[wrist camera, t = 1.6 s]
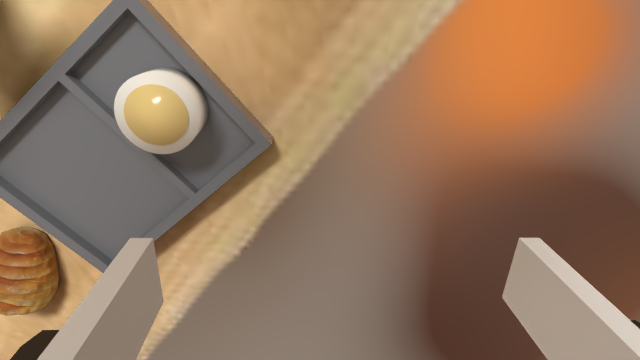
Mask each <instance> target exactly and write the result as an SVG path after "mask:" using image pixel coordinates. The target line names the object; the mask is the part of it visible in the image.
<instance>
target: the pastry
mask: <svg viewBox="0 0 640 360" xmlns="http://www.w3.org/2000/svg"><path fill="white" fill-rule="evenodd" d="M58 281H59V274H58V265H57V260H56V256H55V250H54V247H53V244H52V243H51V242H50V240H49V239H48V237H47V235H46V234H45V233H43V232H42V231H40V230H36V229H32V228H29V227H20V228H16V229H11V230H8V231H5V232H2V233H1V235H0V314H3V315H16V314H19V315H24V314H29V313H32V312H34V311H37V310H40V309H42V308H44V307H46V306H47V305H48V303H49V302H50V300H51V299H52V297H53V296H54V295H55V293H56V291H57V287H58Z"/></svg>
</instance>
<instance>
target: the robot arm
mask: <svg viewBox="0 0 640 360" xmlns="http://www.w3.org/2000/svg"><path fill="white" fill-rule="evenodd" d="M502 298H503V299H504V301H505V302H506V303H507V305H508V306H509V307H510V309H511V310H512V312H513V313H514V314H515V316H516V317H517V318H518V320H519V321H520V322H521V324H522V325H523V326H524V328H525V329H526V331H527V332H528V333H529V335H530V336H531V337H532V339H533V340H534V342H535V343H536V344H537V346H538V347H539V348H540V350H541V351H542V352H543V354H544V355H545V356H546V358H547V359H548V360H640V323H639V322H637V321H636V320H629V319H628V318H627V317H626V316H625V315H624V314H622V313H621V312H620V311H619V310H618V309H617V308H616V307H615V306H613V305H612V304H611V303H610V302H609V301H608V300H607V299H606V298H605V297H604V296H603V295H601V294H600V293H599V292H598V291H597V290H596V289H595V288H594V287H593V286H592V285H590V284H589V283H588V282H587V281H586V280H585V279H584V278H583V277H582V276H581V275H579V274H578V273H577V272H576V271H575V270H574V269H573V268H572V267H571V266H570V265H568V264H567V263H566V262H565V261H564V260H563V259H562V258H561V257H560V256H558V255H557V254H556V253H555V252H554V251H553V250H552V249H551V248H550V247H549V246H548V245H546V244H545V243H544V242H543V241H542V240H541V239H540V238H519V240H518V244H517V248H516V251H515V254H514V258H513V261H512V265H511V269H510V272H509V275H508V279H507V282H506V286H505V289H504V293H503V296H502ZM162 303H163V295H162V289H161V283H160V277H159V271H158V265H157V259H156V253H155V247H154V241H153V238H130V239H129V240H128V241H127V243H126V244H125V245H124V247H123V248H122V249H121V251H120V252H119V253H118V255H117V256H116V257H115V258H114V260H113V261H112V262H111V264H110V265H109V266H108V268H107V269H106V270H105V272H104V273H103V274H102V275H101V277H100V278H99V279H98V281H97V282H96V283H95V285H94V286H93V287H92V288H91V290H90V291H89V292H88V294H87V295H86V296H85V298H84V299H83V300H82V302H81V303H80V304H79V305H78V307H77V308H76V309H75V311H74V312H73V313H72V315H71V316H70V317H69V319H68V320H67V321H66V322H65V324H64V325H63V326H62V328H61V329H60V330H42V331H41V332H40V333H38V334H37V335H36V336H34V337H33V338H32V339H30V340H29V341H28V342H26V343H25V344H24V345H22V346H21V347H20V348H19V350H18V351H17V352H16V353H15V354H14V355H13V357H12V358H11V359H10V360H136V358H137V356H138V354H139V351H140V349H141V347H142V345H143V343H144V341H145V339H146V337H147V335H148V333H149V330H150V328H151V326H152V324H153V322H154V320H155V318H156V316H157V314H158V312H159V309H160V307H161V305H162Z"/></svg>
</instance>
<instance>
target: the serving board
mask: <svg viewBox="0 0 640 360" xmlns="http://www.w3.org/2000/svg"><path fill="white" fill-rule="evenodd" d="M272 140H273V136H272V135H271V134H270V133H269V132H268V131H267V130H266V129H265V128H264V127H263V126H262V124H261V123H260V122H259V121H258V120H257V119H256V118H255V117H254V116H253V115H252V114H251V112H250V111H249V110H248V109H247V108H246V107H245V106H244V105H243V104H242V103H241V102H240V100H239V99H238V98H237V97H236V96H235V95H234V94H233V93H232V92H231V91H230V90H229V88H228V87H227V86H226V85H225V84H224V83H223V82H222V81H221V80H220V79H219V78H218V76H217V75H216V74H215V73H214V72H213V71H212V70H211V69H210V68H209V67H208V66H207V64H206V63H205V62H204V61H203V60H202V59H201V58H200V57H199V56H198V55H197V54H196V53H195V51H194V50H193V49H192V48H191V47H190V46H189V45H188V44H187V43H186V42H185V41H184V39H183V38H182V37H181V36H180V35H179V34H178V33H177V32H176V31H175V30H174V29H173V27H172V26H171V25H170V24H169V23H168V22H167V21H166V20H165V19H164V18H163V17H162V15H161V14H160V13H159V12H158V11H157V10H156V9H155V8H154V7H153V6H152V5H151V3H150V2H149V1H148V0H113V1H112V2H111V3H110V4H109V5H108V6H107V7H106V8H105V10H104V11H103V12H102V13H101V14H100V15H99V16H98V17H97V18H96V19H95V20H94V21H93V22H92V23H91V24H90V26H89V27H88V28H87V29H86V30H85V31H84V32H83V33H82V34H81V35H80V36H79V37H78V38H77V39H76V41H75V42H74V43H73V44H72V45H71V46H70V47H69V48H68V49H67V50H66V51H65V52H64V53H63V54H62V56H61V57H60V58H59V59H58V60H57V61H56V62H55V63H54V64H53V65H52V66H51V67H50V68H49V69H48V71H47V72H46V73H45V74H44V75H43V76H42V77H41V78H40V79H39V80H38V81H37V82H36V83H35V84H34V85H33V87H32V88H31V89H30V90H29V91H28V92H27V93H26V94H25V95H24V96H23V97H22V98H21V99H20V100H19V102H18V103H17V104H16V105H15V106H14V107H13V108H12V109H11V110H10V111H9V112H8V113H7V114H6V115H5V117H4V118H3V119H2V120H1V121H0V198H2V199H3V200H4V201H6V202H7V203H8V204H10V205H11V206H13V207H14V208H15V209H17V210H18V211H19V212H21V213H22V214H23V215H25V216H26V217H28V218H29V219H30V220H32V221H33V222H34V223H36V224H37V225H39V226H40V227H41V228H43V229H44V230H45V231H47V232H48V233H49V234H51V235H52V236H54V237H55V238H56V239H58V240H59V241H60V242H62V243H63V244H64V245H66V246H67V247H69V248H70V249H71V250H73V251H74V252H75V253H77V254H78V255H79V256H81V257H82V258H84V259H85V260H86V261H88V262H89V263H90V264H92V265H93V266H95V267H96V268H97V269H99V270H100V271H101V272H103V273H104V272H105V270H106V269H107V268H108V266H109V265H110V264H111V262H112V261H113V260H114V258H115V257H116V256H117V255H118V253H119V252H120V251H121V249H122V248H123V247H124V245H125V244H126V243H127V241H128V240H129V239H130V238H153V241H155V240H157V239H158V238H159V237H160V236H161V235H163V234H164V233H165V232H166V231H168V230H169V229H170V228H171V227H172V226H174V225H175V224H176V223H177V222H178V221H180V220H181V219H182V218H183V217H185V216H186V215H187V214H188V213H189V212H191V211H192V210H193V209H194V208H195V207H197V206H198V205H199V204H200V203H201V202H203V201H204V200H205V199H206V198H208V197H209V196H210V195H211V194H212V193H214V192H215V191H216V190H217V189H218V188H220V187H221V186H222V185H223V184H224V183H226V182H227V181H228V180H229V179H231V178H232V177H233V176H234V175H235V174H237V173H238V172H239V171H240V170H241V169H243V168H244V167H245V166H246V165H247V164H249V163H250V162H251V161H252V160H254V159H255V158H256V157H257V156H258V155H260V154H261V153H262V152H263V151H264V150H266V149H267V148H268V147H269V146H271V145H272Z"/></svg>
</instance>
